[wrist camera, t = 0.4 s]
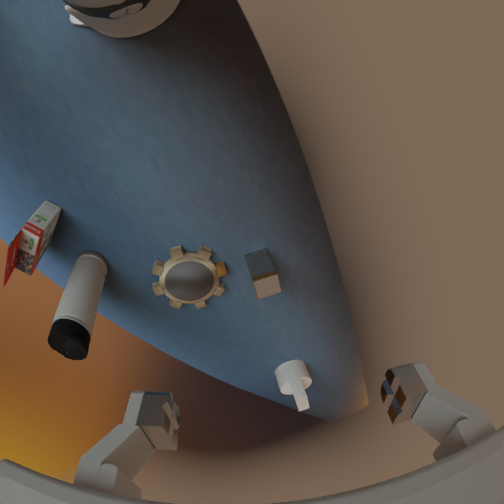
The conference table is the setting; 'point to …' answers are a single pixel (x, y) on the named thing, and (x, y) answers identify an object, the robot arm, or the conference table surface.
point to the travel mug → (78, 307)
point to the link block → (262, 273)
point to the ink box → (32, 240)
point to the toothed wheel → (189, 277)
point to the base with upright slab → (294, 381)
